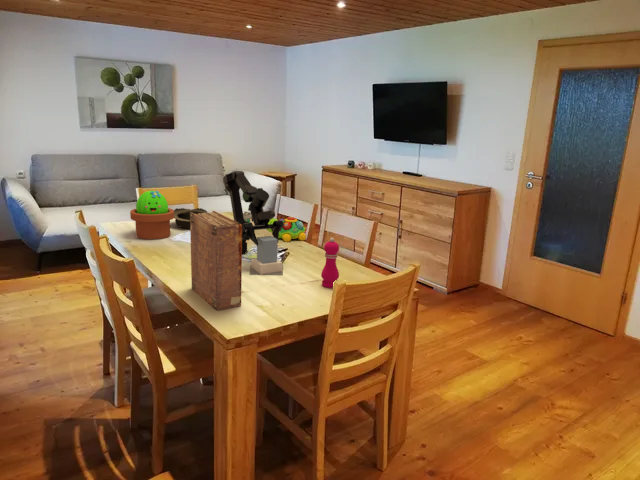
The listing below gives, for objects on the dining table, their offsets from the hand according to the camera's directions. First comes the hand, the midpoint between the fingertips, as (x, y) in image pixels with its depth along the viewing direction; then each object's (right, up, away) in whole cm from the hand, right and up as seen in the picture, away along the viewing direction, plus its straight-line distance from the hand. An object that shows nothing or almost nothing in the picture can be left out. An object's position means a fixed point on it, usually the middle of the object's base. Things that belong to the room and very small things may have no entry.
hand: (267, 244), depth 206 cm
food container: (-21, +7, +74) cm, 77 cm away
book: (-16, -19, -27) cm, 37 cm away
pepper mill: (+26, -17, -9) cm, 33 cm away
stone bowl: (-53, +10, +79) cm, 96 cm away
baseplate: (-1, -12, +4) cm, 13 cm away
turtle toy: (+3, +2, +61) cm, 61 cm away
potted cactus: (-67, +4, +53) cm, 86 cm away
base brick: (-1, -11, +4) cm, 12 cm away
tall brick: (-1, -7, +2) cm, 8 cm away
